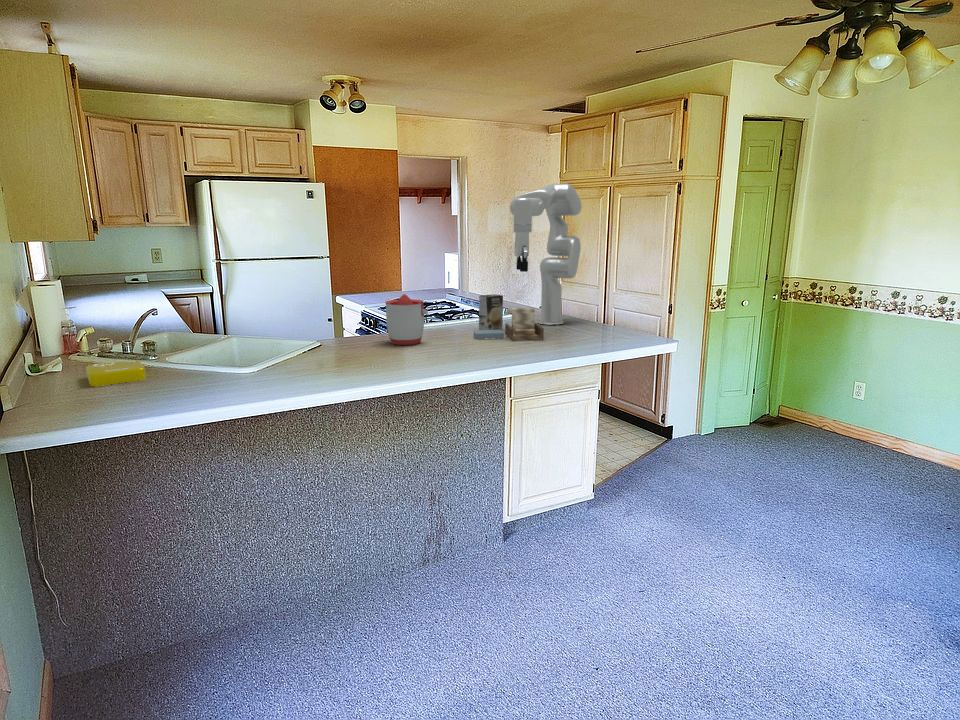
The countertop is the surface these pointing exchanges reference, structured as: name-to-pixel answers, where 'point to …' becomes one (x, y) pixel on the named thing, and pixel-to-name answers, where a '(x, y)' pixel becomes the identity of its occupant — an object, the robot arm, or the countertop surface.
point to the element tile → (115, 372)
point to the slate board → (488, 334)
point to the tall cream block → (522, 318)
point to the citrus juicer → (405, 320)
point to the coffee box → (490, 312)
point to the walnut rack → (538, 331)
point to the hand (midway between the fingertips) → (522, 270)
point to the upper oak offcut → (524, 332)
